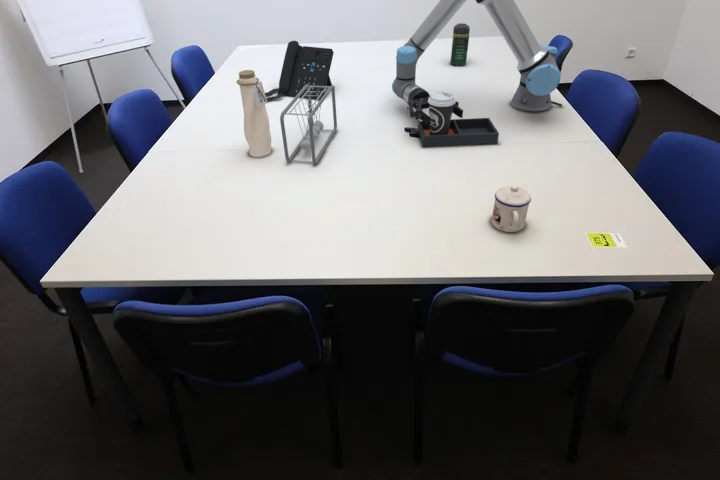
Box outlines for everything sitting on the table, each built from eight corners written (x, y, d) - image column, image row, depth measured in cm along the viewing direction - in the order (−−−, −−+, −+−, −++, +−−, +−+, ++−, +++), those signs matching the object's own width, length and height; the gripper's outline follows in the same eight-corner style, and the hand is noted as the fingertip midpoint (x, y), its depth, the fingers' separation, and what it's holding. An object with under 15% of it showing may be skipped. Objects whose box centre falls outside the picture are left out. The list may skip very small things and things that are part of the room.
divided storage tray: (487, 128, 177) (489, 117, 175) (497, 144, 167) (499, 133, 164) (417, 131, 177) (418, 120, 175) (422, 147, 166) (423, 136, 164)
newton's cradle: (311, 128, 182) (306, 82, 171) (337, 129, 180) (334, 83, 170) (285, 165, 159) (278, 114, 148) (315, 167, 157) (310, 116, 146)
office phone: (248, 102, 206) (240, 54, 194) (281, 81, 227) (275, 36, 214) (308, 110, 197) (303, 60, 185) (336, 87, 217) (333, 41, 205)
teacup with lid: (488, 213, 132) (494, 177, 125) (521, 214, 132) (529, 177, 125) (494, 239, 123) (501, 201, 116) (530, 240, 122) (539, 202, 115)
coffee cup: (451, 142, 167) (455, 101, 158) (424, 141, 168) (427, 100, 159) (452, 131, 174) (456, 91, 165) (426, 129, 176) (429, 90, 167)
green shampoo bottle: (466, 66, 235) (470, 26, 224) (450, 66, 236) (453, 26, 225) (466, 60, 243) (470, 22, 232) (450, 60, 244) (453, 22, 233)
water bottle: (280, 148, 169) (269, 69, 152) (269, 159, 162) (255, 78, 145) (255, 145, 172) (241, 66, 155) (243, 156, 165) (227, 75, 148)
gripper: (444, 101, 185) (474, 121, 169) (387, 112, 178) (413, 134, 162) (445, 82, 181) (477, 101, 165) (387, 92, 174) (414, 113, 158)
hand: (445, 117), depth 164 cm, fingers open, 12 cm apart
